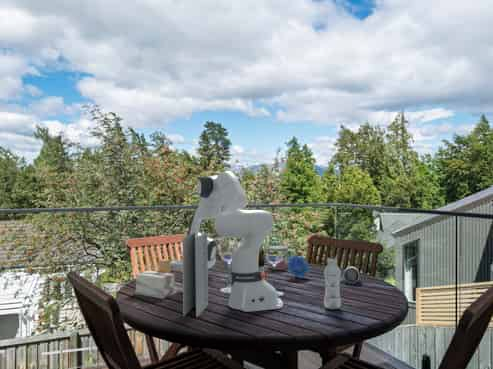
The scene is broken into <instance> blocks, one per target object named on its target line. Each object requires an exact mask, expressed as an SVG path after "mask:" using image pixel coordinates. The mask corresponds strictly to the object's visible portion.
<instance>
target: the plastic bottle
mask: <svg viewBox="0 0 493 369" xmlns="http://www.w3.org/2000/svg"><path fill="white" fill-rule="evenodd" d="M326 259H327V262H326V263H327V265H326V267H325V268H324V270H323V276H324V283H325V288H324V291H325V292H324V297H323V305H324V307H325V308H326V309H327V310H338V309H340V307H341V305H342V299H341V294H340V293H341V292H340V282H341V281H340V276H342V271H341V269H340V267H339V265H338V259H337V257H327V258H326Z"/></svg>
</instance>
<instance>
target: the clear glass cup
mask: <svg viewBox="0 0 493 369" xmlns="http://www.w3.org/2000/svg"><path fill="white" fill-rule="evenodd" d="M267 248H268V252H269V251H283V252H284V255H285V258H284V260H283V261H282V262H281V263H279V264H278V265H277V266H276V267H273V266H271V265H269V264H268V269H270V268H271V270H286V269H289V268H288V267H287V264H288V263H289V261H288V259H289V258H288V249H289V248H288V245H286V246H285V245H269V246H268V247H267Z"/></svg>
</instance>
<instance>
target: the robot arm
mask: <svg viewBox="0 0 493 369" xmlns="http://www.w3.org/2000/svg"><path fill="white" fill-rule="evenodd" d="M196 192H197V195H198V196H199V197H200V203H199V205H198V206H197V207H195V209H194V211H193V213H192V216H191V220H190V222H189V223H190V224H189V226H188V231H187V234H186V235H185V236H187V235H190V234H192V233H195V234H196V237H198V236H200V235H203V233H201V231H200V228H201V227H200V226H202V225H201V224H202V221H203V220H213V219H214V222H213V225H214V226H213V227H214V231H215V233H216V234H217V235H218V236H219V237H221V238H227V239H237V238H238V239H239V238H243V239H242V242H241V243H240V244H239V245H238V246H237V247H234V248H233V249H232V252H231V270H230V277H229V278H230V279H229V280H230V285H231V287H230V296H229V300H228V307H229V308H232V309H233V310H240V311H243V312H246V313H248V312H258V311H267V310H277V309H283V307H284V303H283V300H282V299H281V298H280V297H278V293H277V289H276V288H275V287H274V286H273V285H271V284H270V283H269V282H268V281H266V280H265V278H266V274H265V272H264V271H262V270H260V269H259V261H260V260H259V258H260V250H261V247H262V244H263V242H264V240H265V239H266V238H267V237H268V235H269V234H271V232H273V229H274V226H275V219H274V217H273V215H272V213H270V212H269V211H267V210H261V209H252V210H251V209H250V210H249V209H247V210H245V208H246V207H247V204H248V196H247V194H246V192H245V189H244V187H243V182H242V180H241V178H240V177H239V176H237V175H236V174H234V173H233V172H232V171H230V170H225V171H221V172H220V173H218V175H217V174H215V175H209V176H208V175H204V176H200V177H199V178H198V179H197V181H196ZM207 248H208V269H210V268H212V267H213V266H214V265H215V263H216V261H217V258H216V256H217V253H218V243H217V241H216V240H215V239H212V238H211V237H208V236H207ZM170 270H171V271H177V272H178V271H179V272H182V273H183V260H170Z"/></svg>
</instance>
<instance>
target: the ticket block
mask: <svg viewBox="0 0 493 369" xmlns="http://www.w3.org/2000/svg"><path fill="white" fill-rule="evenodd" d="M135 289H136V290H135V291H134V294H136V295H139V296H144V297H145V296H146V297H151V298H158V299H162V300H163V299H166V298H168V297H170V296H171V297H172V296H174V295H176V294H179V293H183V282H181V281H180V282H178V281H175V274H174V273H171V274H170V273H163V272H159V271H155V270H145V271H142V272H138V273H136V274H135Z"/></svg>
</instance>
